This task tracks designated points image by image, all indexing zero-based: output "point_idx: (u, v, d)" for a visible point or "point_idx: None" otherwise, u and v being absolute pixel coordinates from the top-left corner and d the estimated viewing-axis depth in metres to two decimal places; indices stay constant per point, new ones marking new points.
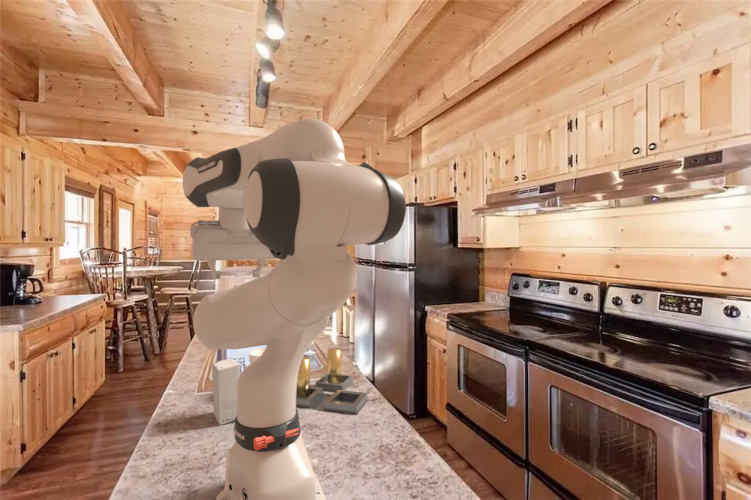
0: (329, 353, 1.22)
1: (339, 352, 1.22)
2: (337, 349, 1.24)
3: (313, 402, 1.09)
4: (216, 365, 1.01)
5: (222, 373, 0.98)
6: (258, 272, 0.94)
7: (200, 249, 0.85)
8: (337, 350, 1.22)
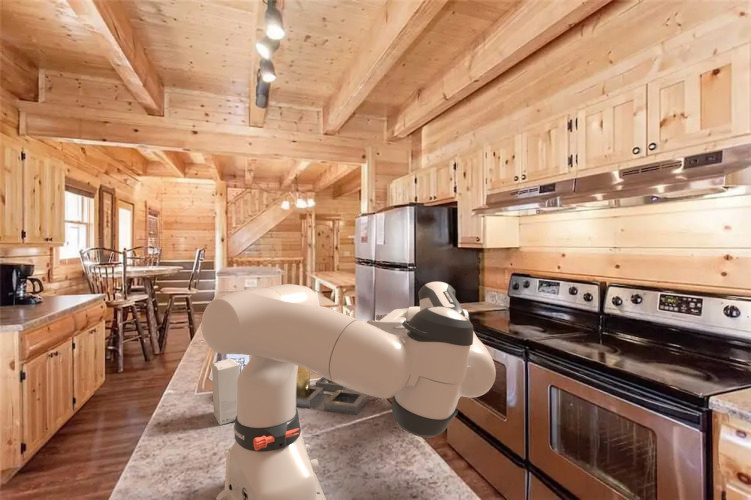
0: None
1: None
2: None
3: (313, 402, 1.09)
4: (216, 365, 1.01)
5: (222, 373, 0.98)
6: None
7: None
8: None
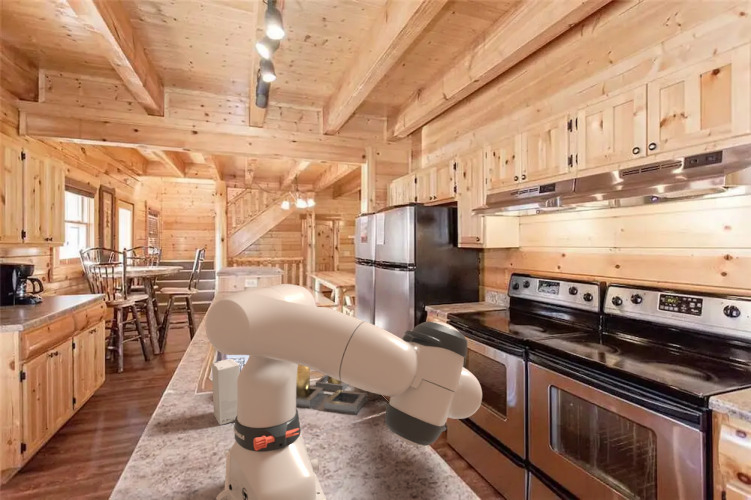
0: None
1: None
2: None
3: (313, 402, 1.09)
4: (216, 365, 1.01)
5: (222, 373, 0.98)
6: None
7: None
8: None
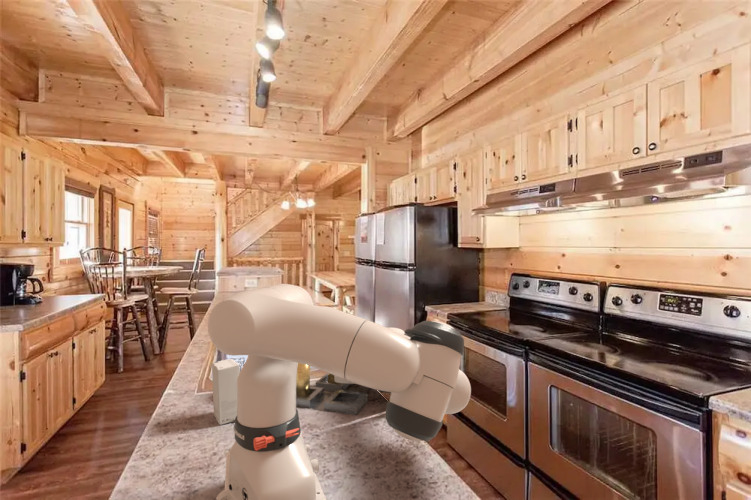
0: None
1: None
2: None
3: (313, 402, 1.09)
4: (216, 365, 1.01)
5: (222, 373, 0.98)
6: None
7: None
8: None
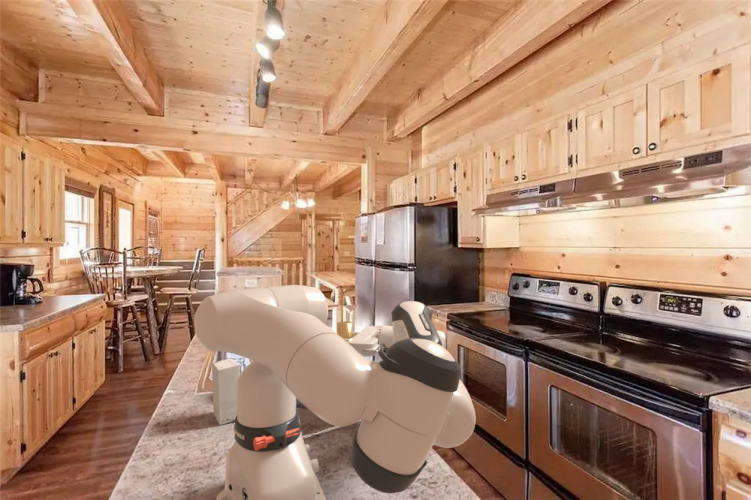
0: (339, 326, 1.07)
1: (350, 325, 1.07)
2: (348, 322, 1.09)
3: None
4: (216, 365, 1.01)
5: (222, 373, 0.98)
6: None
7: None
8: (348, 323, 1.08)
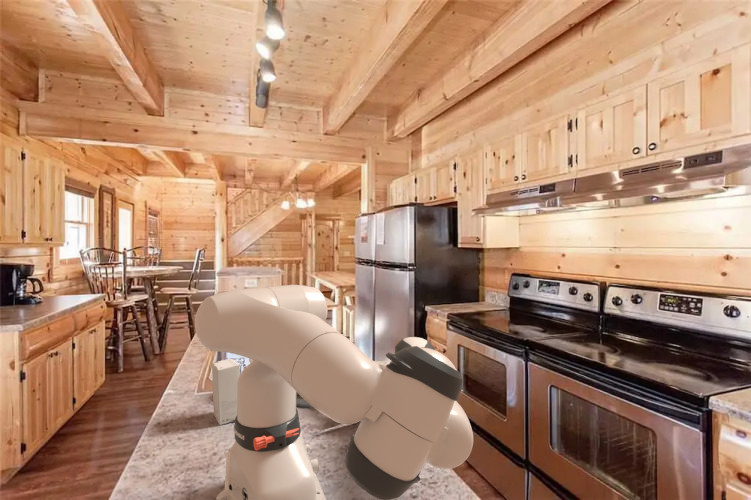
0: None
1: None
2: None
3: None
4: (216, 365, 1.01)
5: (222, 373, 0.98)
6: None
7: None
8: None
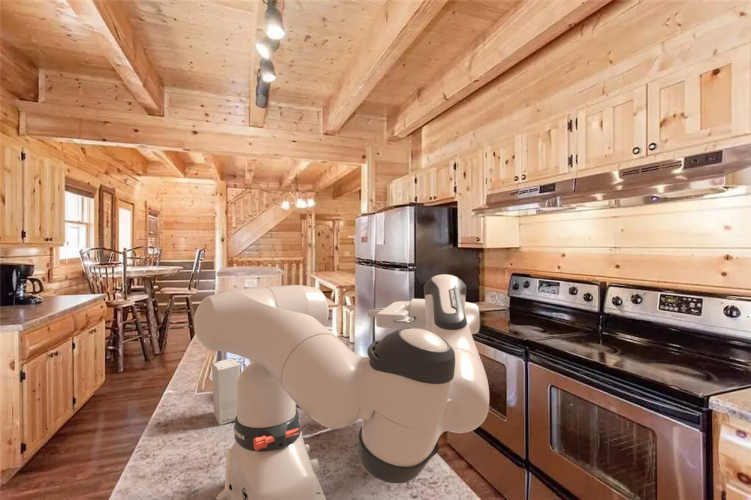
0: None
1: None
2: None
3: None
4: (216, 365, 1.01)
5: (222, 373, 0.98)
6: None
7: None
8: None
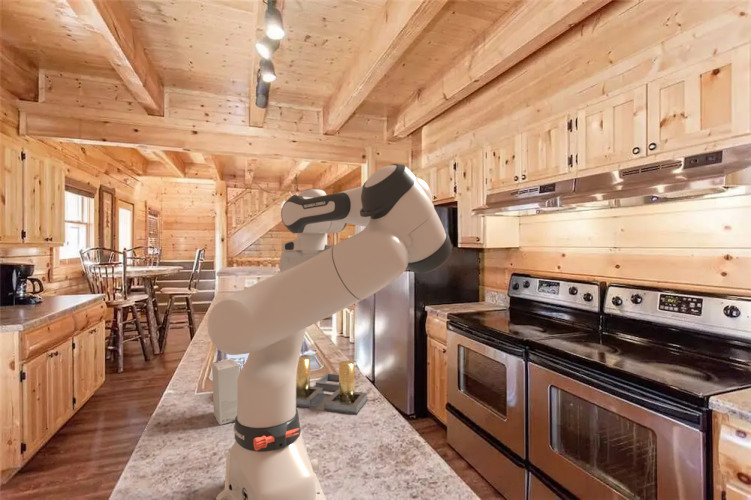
0: (341, 367, 1.07)
1: (352, 366, 1.07)
2: (350, 362, 1.09)
3: (313, 402, 1.09)
4: (216, 365, 1.01)
5: (222, 373, 0.98)
6: None
7: None
8: (350, 363, 1.08)
